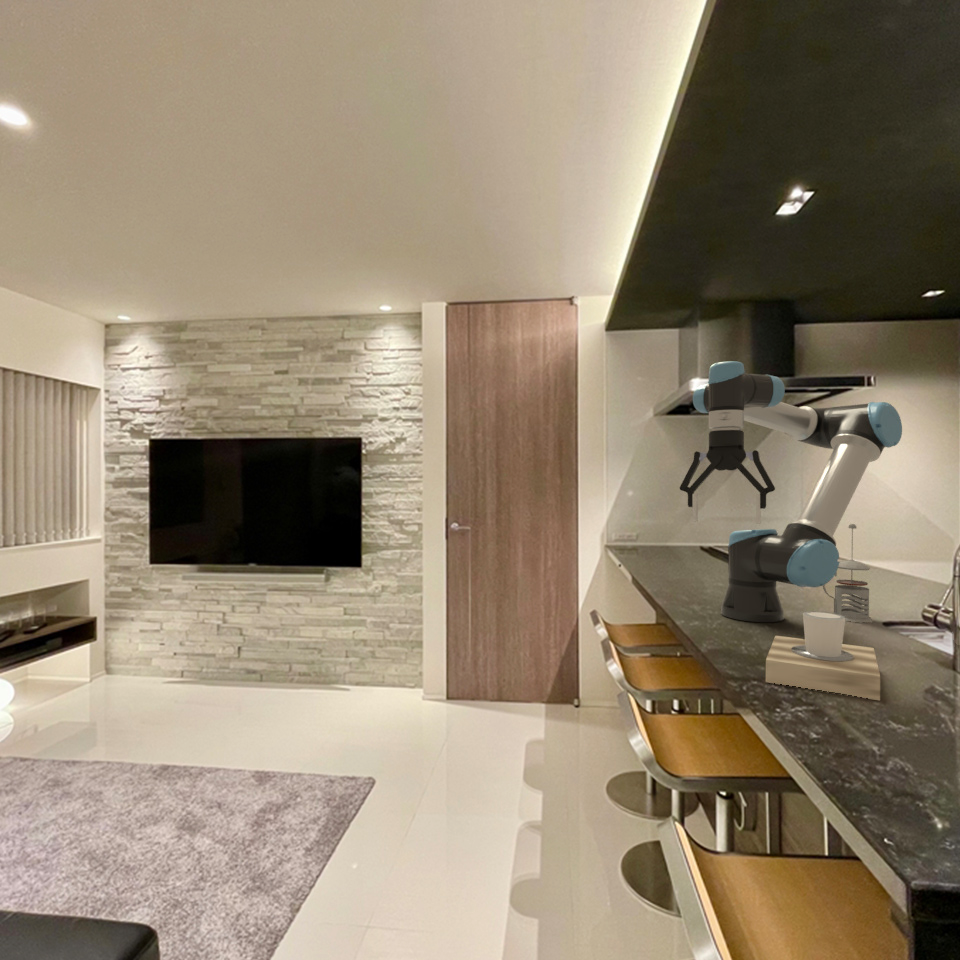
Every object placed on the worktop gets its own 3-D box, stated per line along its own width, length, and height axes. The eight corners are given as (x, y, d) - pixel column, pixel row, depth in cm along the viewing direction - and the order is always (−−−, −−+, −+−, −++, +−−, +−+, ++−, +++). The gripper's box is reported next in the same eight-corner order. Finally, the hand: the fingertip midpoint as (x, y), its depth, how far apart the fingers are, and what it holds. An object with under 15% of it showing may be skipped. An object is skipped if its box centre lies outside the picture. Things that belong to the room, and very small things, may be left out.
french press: (878, 624, 154) (879, 525, 154) (826, 620, 158) (827, 524, 158) (868, 616, 163) (869, 523, 163) (819, 612, 167) (820, 521, 167)
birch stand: (775, 655, 125) (775, 634, 125) (873, 668, 116) (873, 646, 116) (765, 682, 108) (765, 658, 108) (880, 700, 99) (880, 675, 99)
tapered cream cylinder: (851, 659, 108) (851, 619, 108) (809, 656, 109) (809, 617, 109) (836, 648, 115) (836, 611, 115) (797, 646, 116) (797, 609, 116)
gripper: (667, 431, 142) (667, 521, 142) (786, 426, 130) (786, 525, 130) (673, 433, 149) (673, 519, 149) (787, 429, 137) (787, 523, 137)
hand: (726, 522), depth 140 cm, fingers open, 13 cm apart
